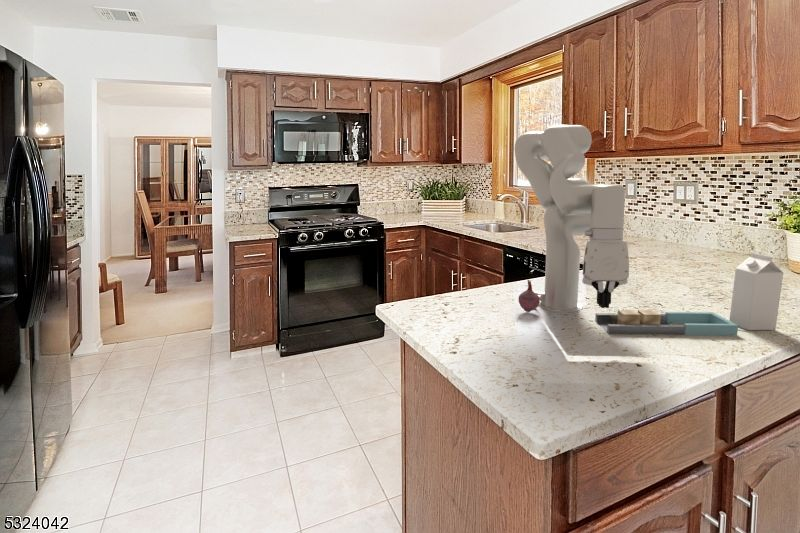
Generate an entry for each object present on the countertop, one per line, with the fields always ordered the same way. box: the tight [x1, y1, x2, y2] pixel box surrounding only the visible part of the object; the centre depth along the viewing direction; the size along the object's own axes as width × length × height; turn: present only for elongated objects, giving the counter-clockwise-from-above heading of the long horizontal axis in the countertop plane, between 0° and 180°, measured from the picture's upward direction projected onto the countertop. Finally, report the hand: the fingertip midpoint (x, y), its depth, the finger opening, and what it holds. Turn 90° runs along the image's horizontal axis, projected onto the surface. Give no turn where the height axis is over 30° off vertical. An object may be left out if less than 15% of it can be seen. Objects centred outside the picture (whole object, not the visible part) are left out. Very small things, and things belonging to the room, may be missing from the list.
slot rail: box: [594, 312, 686, 336], centre depth 123 cm, size 18×11×3 cm, turn 85°
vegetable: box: [517, 279, 541, 313], centre depth 140 cm, size 6×6×10 cm
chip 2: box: [637, 309, 662, 325], centre depth 123 cm, size 4×4×4 cm
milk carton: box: [728, 252, 784, 331], centre depth 124 cm, size 7×7×19 cm
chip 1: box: [617, 309, 640, 325], centre depth 123 cm, size 4×4×4 cm
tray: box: [664, 311, 739, 336], centre depth 122 cm, size 12×11×4 cm
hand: (603, 306), depth 122 cm, fingers closed
